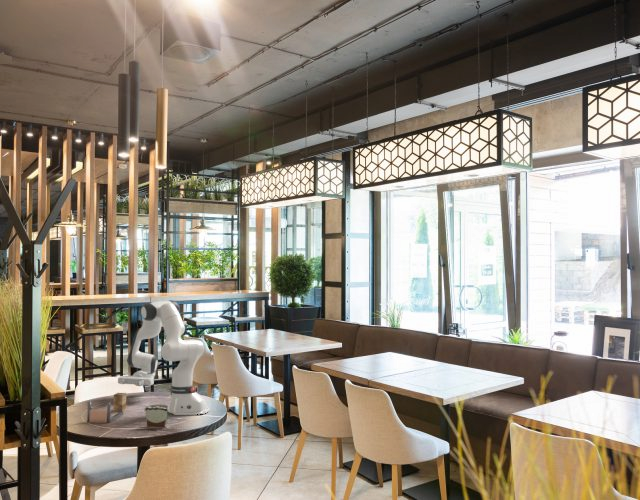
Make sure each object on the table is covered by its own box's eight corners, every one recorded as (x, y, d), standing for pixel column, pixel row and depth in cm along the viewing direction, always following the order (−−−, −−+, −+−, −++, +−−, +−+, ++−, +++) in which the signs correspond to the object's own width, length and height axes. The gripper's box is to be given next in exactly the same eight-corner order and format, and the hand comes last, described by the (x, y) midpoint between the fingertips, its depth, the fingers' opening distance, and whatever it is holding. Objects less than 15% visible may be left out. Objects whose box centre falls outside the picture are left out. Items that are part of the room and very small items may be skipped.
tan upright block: (125, 409, 308) (126, 393, 309) (122, 411, 304) (122, 395, 304) (117, 409, 309) (117, 392, 309) (113, 411, 304) (113, 394, 304)
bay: (123, 414, 298) (124, 395, 298) (109, 423, 280) (109, 403, 281) (102, 413, 299) (103, 394, 299) (86, 422, 281) (87, 402, 282)
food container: (172, 424, 279) (172, 404, 280) (167, 428, 273) (168, 407, 274) (148, 423, 281) (149, 403, 281) (143, 427, 274) (144, 406, 275)
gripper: (123, 372, 335) (113, 376, 322) (156, 373, 334) (147, 378, 320) (123, 382, 335) (112, 387, 321) (156, 384, 334) (147, 389, 320)
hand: (130, 383), depth 321 cm, fingers open, 8 cm apart
